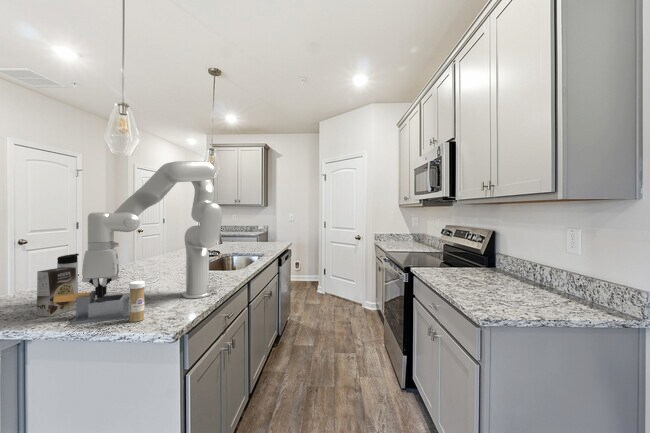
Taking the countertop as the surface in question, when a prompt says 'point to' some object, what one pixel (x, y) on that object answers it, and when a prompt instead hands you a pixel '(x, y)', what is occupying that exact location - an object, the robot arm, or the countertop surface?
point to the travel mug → (69, 264)
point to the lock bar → (73, 296)
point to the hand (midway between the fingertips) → (101, 296)
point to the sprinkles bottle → (136, 301)
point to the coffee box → (55, 290)
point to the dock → (101, 308)
